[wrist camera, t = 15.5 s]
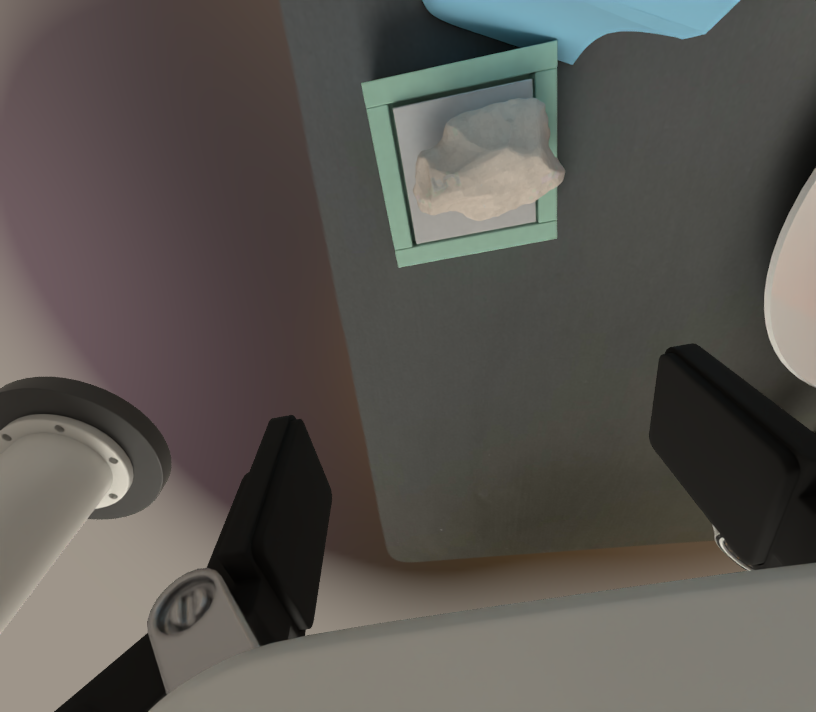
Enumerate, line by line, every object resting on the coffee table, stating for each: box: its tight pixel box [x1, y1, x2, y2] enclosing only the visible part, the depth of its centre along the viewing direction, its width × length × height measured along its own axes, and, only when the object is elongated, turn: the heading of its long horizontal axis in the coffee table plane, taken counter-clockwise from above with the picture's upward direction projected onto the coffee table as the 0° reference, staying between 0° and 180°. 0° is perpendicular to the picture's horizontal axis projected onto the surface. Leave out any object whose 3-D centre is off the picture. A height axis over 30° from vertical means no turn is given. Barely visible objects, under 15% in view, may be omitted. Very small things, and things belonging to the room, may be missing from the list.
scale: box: [361, 40, 557, 267], centre depth 26 cm, size 10×10×3 cm
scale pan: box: [393, 79, 536, 244], centre depth 25 cm, size 8×8×2 cm
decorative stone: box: [413, 98, 565, 221], centre depth 23 cm, size 9×6×3 cm, turn 101°
